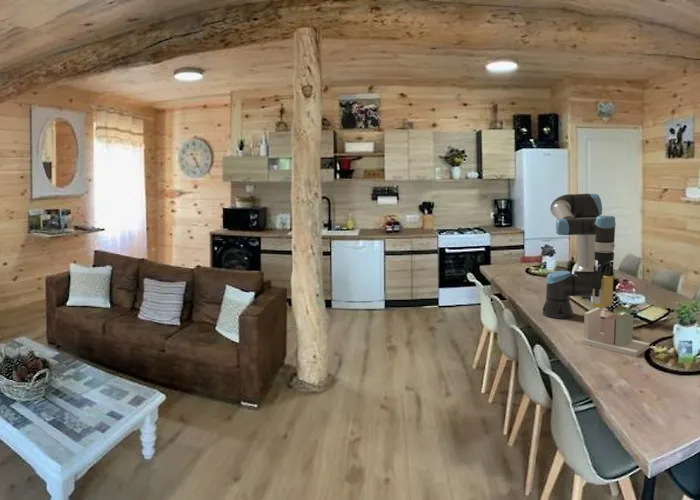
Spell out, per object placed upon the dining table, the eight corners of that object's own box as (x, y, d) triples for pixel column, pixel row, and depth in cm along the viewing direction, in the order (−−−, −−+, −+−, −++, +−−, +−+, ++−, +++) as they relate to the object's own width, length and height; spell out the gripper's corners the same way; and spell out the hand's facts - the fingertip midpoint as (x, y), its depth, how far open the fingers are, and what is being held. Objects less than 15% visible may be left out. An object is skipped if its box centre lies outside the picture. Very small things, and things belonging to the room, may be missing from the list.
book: (592, 306, 210) (593, 278, 208) (601, 302, 215) (602, 274, 213) (602, 308, 206) (604, 279, 204) (612, 304, 212) (613, 275, 210)
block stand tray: (582, 343, 213) (583, 313, 211) (597, 335, 222) (598, 306, 219) (635, 356, 196) (637, 324, 194) (649, 347, 204) (651, 316, 202)
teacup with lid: (606, 337, 219) (607, 313, 217) (589, 331, 227) (590, 308, 225) (624, 332, 224) (625, 308, 222) (607, 327, 232) (608, 304, 230)
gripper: (601, 255, 197) (599, 307, 201) (624, 248, 210) (622, 297, 214) (583, 254, 203) (582, 304, 207) (606, 247, 216) (604, 294, 220)
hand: (602, 301), depth 210 cm, fingers closed on book, 9 cm apart
